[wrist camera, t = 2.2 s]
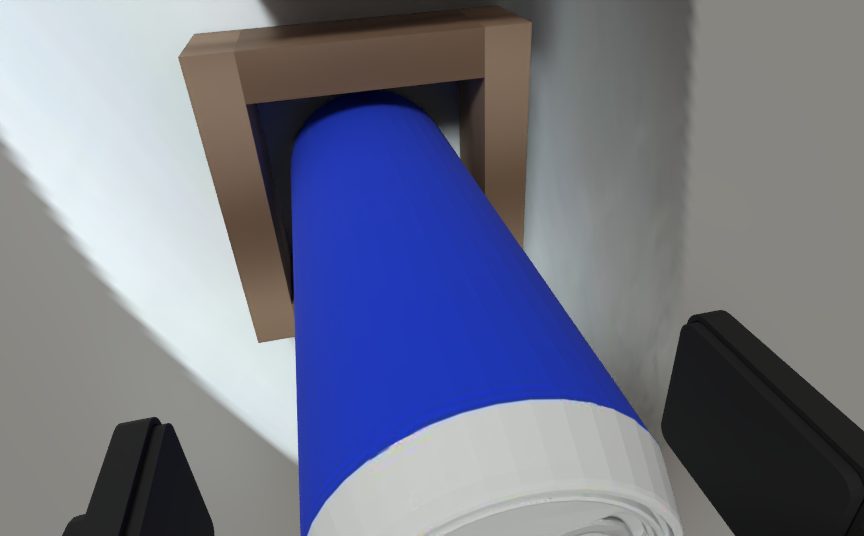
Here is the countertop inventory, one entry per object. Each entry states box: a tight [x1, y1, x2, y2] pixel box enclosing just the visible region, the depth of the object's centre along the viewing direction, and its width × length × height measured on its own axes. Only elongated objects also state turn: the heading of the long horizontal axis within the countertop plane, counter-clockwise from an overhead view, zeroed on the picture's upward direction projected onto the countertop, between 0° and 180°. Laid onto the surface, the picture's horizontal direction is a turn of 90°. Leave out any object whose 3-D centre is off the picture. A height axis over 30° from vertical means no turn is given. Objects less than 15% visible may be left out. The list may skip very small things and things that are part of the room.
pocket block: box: [178, 6, 532, 343], centre depth 18 cm, size 9×9×3 cm
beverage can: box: [291, 90, 684, 536], centre depth 13 cm, size 5×5×15 cm
